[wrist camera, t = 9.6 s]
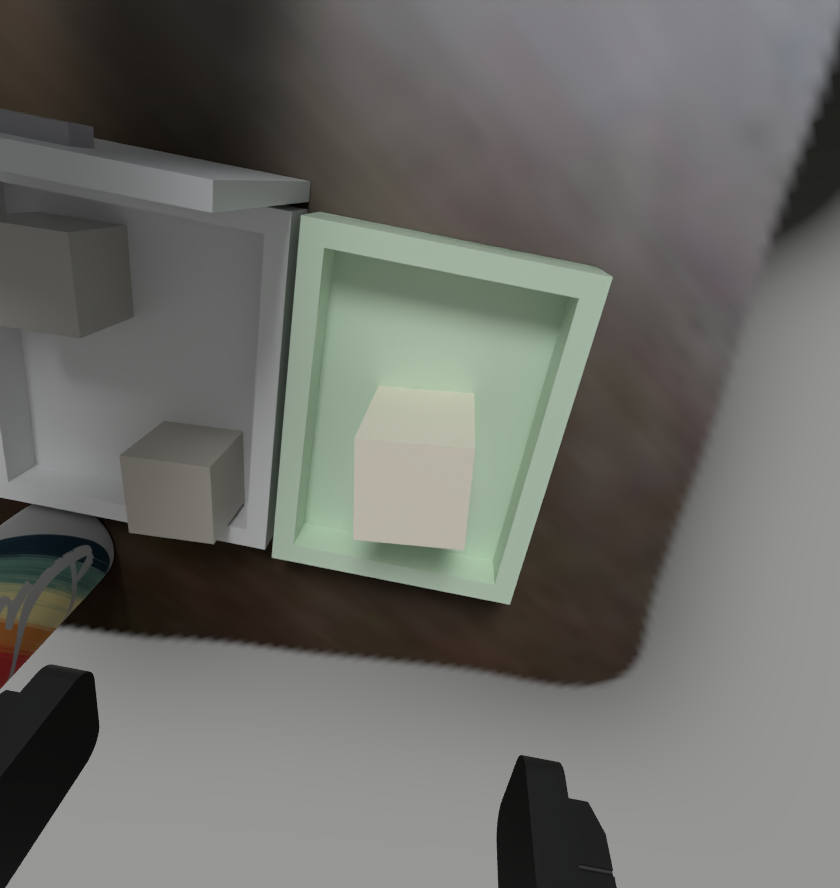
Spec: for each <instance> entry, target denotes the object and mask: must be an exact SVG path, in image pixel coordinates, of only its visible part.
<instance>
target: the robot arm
mask: <svg viewBox="0 0 840 888" xmlns="http://www.w3.org/2000/svg"><path fill="white" fill-rule="evenodd" d="M98 733H99V719H98V709H97V699H96V690H95V680H94V676H93V674H92V673H91V672H88V671H83V670H78V669H72V668H67V667H62V666H57V665H47V666H45V667H43V668H42V669H41V670H40V671H39V672H38V673H37V674H36V675H35V676H34V677H33V678H32V679H31V681H30V682H29V683H28V684H27V685H26V686H25V687H24V688H23V690H22V691H21V692H20V693H19V692H14V691H9V690H5V691H4V692H2V693H1V694H0V888H5V887H6V886H7V884H8V883H9V881H10V879H11V878H12V876H13V875H14V873H15V872H16V870H17V869H18V867H19V866H20V864H21V863H22V861H23V859H24V858H25V857H26V855H27V853H28V852H29V850H30V849H31V847H32V846H33V844H34V843H35V841H36V840H37V838H38V836H39V835H40V834H41V832H42V831H43V829H44V827H45V826H46V824H47V823H48V821H49V820H50V818H51V817H52V815H53V814H54V812H55V811H56V809H57V808H58V806H59V804H60V803H61V802H62V800H63V798H64V797H65V795H66V794H67V792H68V791H69V789H70V787H71V786H72V785H73V783H74V781H75V780H76V779H77V777H78V775H79V774H80V772H81V771H82V769H83V768H84V766H85V765H86V763H87V762H88V760H89V758H90V756H91V754H92V752H93V749H94V747H95V744H96V741H97V737H98ZM497 861H498V862H497V863H498V888H617V887H616V883H615V878H614V877H613V874H612V871H613V868H612V863H611V858H610V854H609V848H608V844H607V839H606V834H605V832H604V830H603V829H602V827H601V825H600V823H599V821H598V819H597V818H596V816H595V814H594V812H593V810H592V808H591V807H590V805H589V803H588V802H585V801H580V800H575V799H570V798H568V792H567V786H566V780H565V774H564V770H563V767H562V765H561V763H559V762H555V761H550V760H544V759H539V758H534V757H528V756H523V755H520V756H519V757H518V759H517V761H516V764H515V767H514V769H513V772H512V775H511V778H510V780H509V783H508V786H507V789H506V791H505V794H504V796H503V799H502V802H501V806H500V810H499V815H498V823H497Z"/></svg>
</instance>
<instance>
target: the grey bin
mask: <svg viewBox="0 0 840 888" xmlns="http://www.w3.org/2000/svg"><path fill="white" fill-rule="evenodd" d="M21 212H43V213H49V214H56V215H62V216H69V217H76V218H82V219H89V220H96V221H102V222H109V223H116V224H122V225H127V235H128V248H129V260H130V273H131V286H132V299H133V312H134V317H133V318H130V319H128V320H125V321H123V322H120V323H118V324H115V325H113V326H110V327H108V328H105V329H103V330H100V331H98V332H95V333H93V334H90V335H87V336H85V337H82V338H75V337H68V336H62V335H55V334H49V333H42V332H36V331H29V330H23V329H16V328H10V327H3V326H0V497H1V498H6V499H11V500H16V501H21V502H26V503H31V504H37V505H42V506H47V507H52V508H57V509H62V510H67V511H72V512H77V513H82V514H87V515H92V516H97V517H102V518H107V519H112V520H117V521H122V522H127V523H128V520H127V512H126V505H125V497H124V489H123V481H122V473H121V466H120V458H119V455H120V454H122V453H123V452H124V451H126V450H127V449H128V448H129V447H131V446H132V445H133V444H135V443H136V442H137V441H139V440H140V439H141V438H142V437H144V436H145V435H146V434H148V433H149V432H150V431H151V430H153V429H154V428H155V427H157V426H158V425H159V424H160V423H162V422H163V421H169V422H177V423H184V424H192V425H200V426H207V427H215V428H223V429H230V430H238V431H243V450H244V488H245V501H244V503H243V504H242V505H241V507H240V508H239V510H238V511H237V512H236V514H235V515H234V517H233V518H232V519H231V521H230V522H229V524H228V525H227V526H226V528H225V529H224V531H223V532H222V534H221V535H220V536H219V538H218V539H217V540H218V541H223V542H228V543H233V544H239V545H244V546H249V547H254V548H259V549H264V550H265V549H266V547H267V545H268V544H269V542H270V540H271V538H272V536H273V535H274V524H275V513H276V501H277V489H278V477H279V466H280V454H281V442H282V431H283V419H284V407H285V395H286V384H287V372H288V360H289V349H290V337H291V325H292V314H293V302H294V290H295V278H296V267H297V255H298V243H299V232H300V220H301V215H305V214H308V209H304V208H299V207H294V206H289V205H277V206H268V207H259V208H250V209H241V210H233V211H224V212H215V213H211V212H206V211H201V210H196V209H191V208H186V207H181V206H176V205H170V204H165V203H160V202H155V201H150V200H145V199H140V198H135V197H130V196H125V195H120V194H115V193H110V192H105V191H100V190H95V189H90V188H85V187H80V186H75V185H70V184H65V183H60V182H55V181H50V180H45V179H40V178H35V177H30V176H25V175H20V174H15V173H10V172H5V171H0V214H6V213H21Z"/></svg>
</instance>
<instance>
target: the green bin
mask: <svg viewBox="0 0 840 888" xmlns="http://www.w3.org/2000/svg"><path fill="white" fill-rule="evenodd" d="M612 278H613V277H612V276H610V275H609V274H607V273H605V272H604V271H602V270H601V269H599V268H598V267H595V266H590V265H585V264H580V263H575V262H570V261H565V260H560V259H555V258H550V257H545V256H540V255H535V254H530V253H525V252H520V251H515V250H510V249H505V248H500V247H495V246H490V245H485V244H480V243H475V242H470V241H465V240H460V239H455V238H450V237H445V236H440V235H435V234H430V233H425V232H419V231H414V230H409V229H404V228H399V227H394V226H389V225H384V224H379V223H374V222H369V221H364V220H359V219H354V218H349V217H344V216H339V215H334V214H329V213H324V212H315V213H310V214H305V215H301V220H300V232H299V243H298V255H297V267H296V278H295V290H294V302H293V314H292V325H291V337H290V349H289V360H288V372H287V384H286V395H285V407H284V419H283V431H282V442H281V454H280V466H279V477H278V489H277V501H276V513H275V524H274V536H273V548H272V558H276V559H281V560H286V561H292V562H297V563H302V564H307V565H312V566H317V567H322V568H327V569H332V570H337V571H342V572H347V573H352V574H357V575H362V576H367V577H372V578H377V579H382V580H387V581H393V582H398V583H403V584H408V585H413V586H418V587H423V588H428V589H433V590H438V591H443V592H448V593H453V594H458V595H463V596H468V597H473V598H478V599H483V600H489V601H494V602H499V603H504V604H509V605H510V602H511V599H512V596H513V593H514V590H515V586H516V583H517V580H518V577H519V574H520V571H521V567H522V564H523V561H524V558H525V555H526V551H527V548H528V545H529V542H530V539H531V536H532V532H533V529H534V526H535V523H536V520H537V517H538V513H539V510H540V507H541V504H542V501H543V497H544V494H545V491H546V488H547V485H548V482H549V478H550V475H551V472H552V469H553V466H554V463H555V459H556V456H557V453H558V450H559V447H560V443H561V440H562V437H563V434H564V431H565V428H566V424H567V421H568V418H569V415H570V412H571V409H572V405H573V402H574V399H575V396H576V393H577V389H578V386H579V383H580V380H581V377H582V374H583V370H584V367H585V364H586V361H587V358H588V355H589V351H590V348H591V345H592V342H593V339H594V335H595V332H596V329H597V326H598V323H599V320H600V316H601V313H602V310H603V307H604V304H605V301H606V297H607V294H608V291H609V288H610V285H611V281H612ZM378 386H387V387H399V388H412V389H424V390H436V391H448V392H461V393H473V394H474V405H475V456H474V466H473V475H472V484H471V493H470V502H469V512H468V521H467V530H466V539H465V548H464V550H455V549H444V548H434V547H423V546H413V545H402V544H392V543H381V542H371V541H360V540H353V517H354V438H355V436H356V434H357V432H358V430H359V427H360V425H361V423H362V421H363V419H364V416H365V414H366V412H367V410H368V408H369V405H370V403H371V401H372V399H373V397H374V394H375V392H376V390H377V388H378Z"/></svg>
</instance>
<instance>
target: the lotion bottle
mask: <svg viewBox="0 0 840 888" xmlns="http://www.w3.org/2000/svg"><path fill="white" fill-rule="evenodd" d="M113 559H114V547H113V543H112V540H111V537H110V535H109V533H108V531H107V530H106V528H105V527H104V526H103V524H102V523H101V522H100V521H99V520H98V519H97V518H96V517H95V516H92V515H87V514H82V513H77V512H72V511H67V510H62V509H57V508H52V507H47V506H42V505H37V504H32V505H30V506H28V507H26V508H25V509H23V510H22V511H20V512H19V513H17V514H16V515H14V516H13V517H11V518H10V519H9V520H7V521H6V522H4V523H3V524H2V525H0V689H1V688H2V687H3V686H4V684H5V683H6V682H7V681H8V680H9V679H10V678H11V677H12V676H13V675H14V674H15V673H16V672H17V670H18V669H19V668H20V667H21V666H22V665H23V664H24V663H25V662H26V661H27V660H28V659H29V658H30V656H31V655H32V654H33V653H34V652H35V651H36V650H37V649H38V648H39V647H40V646H41V645H42V644H43V643H44V641H45V640H46V639H47V638H48V637H49V636H50V635H51V634H52V633H53V632H54V631H55V630H56V629H57V627H58V626H59V625H60V624H61V623H62V622H63V621H64V620H65V619H66V618H67V617H68V616H69V615H70V613H71V612H72V611H73V610H74V609H75V608H76V607H77V606H78V605H79V604H80V603H81V602H82V601H83V599H84V598H85V597H86V596H87V595H88V594H89V593H90V592H91V591H92V590H93V589H94V587H95V586H96V585H97V584H98V583H99V582H100V581H101V580H102V578H103V577H104V576H105V575H106V573H107V572H108V571H109V569H110V567H111V565H112V562H113Z"/></svg>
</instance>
